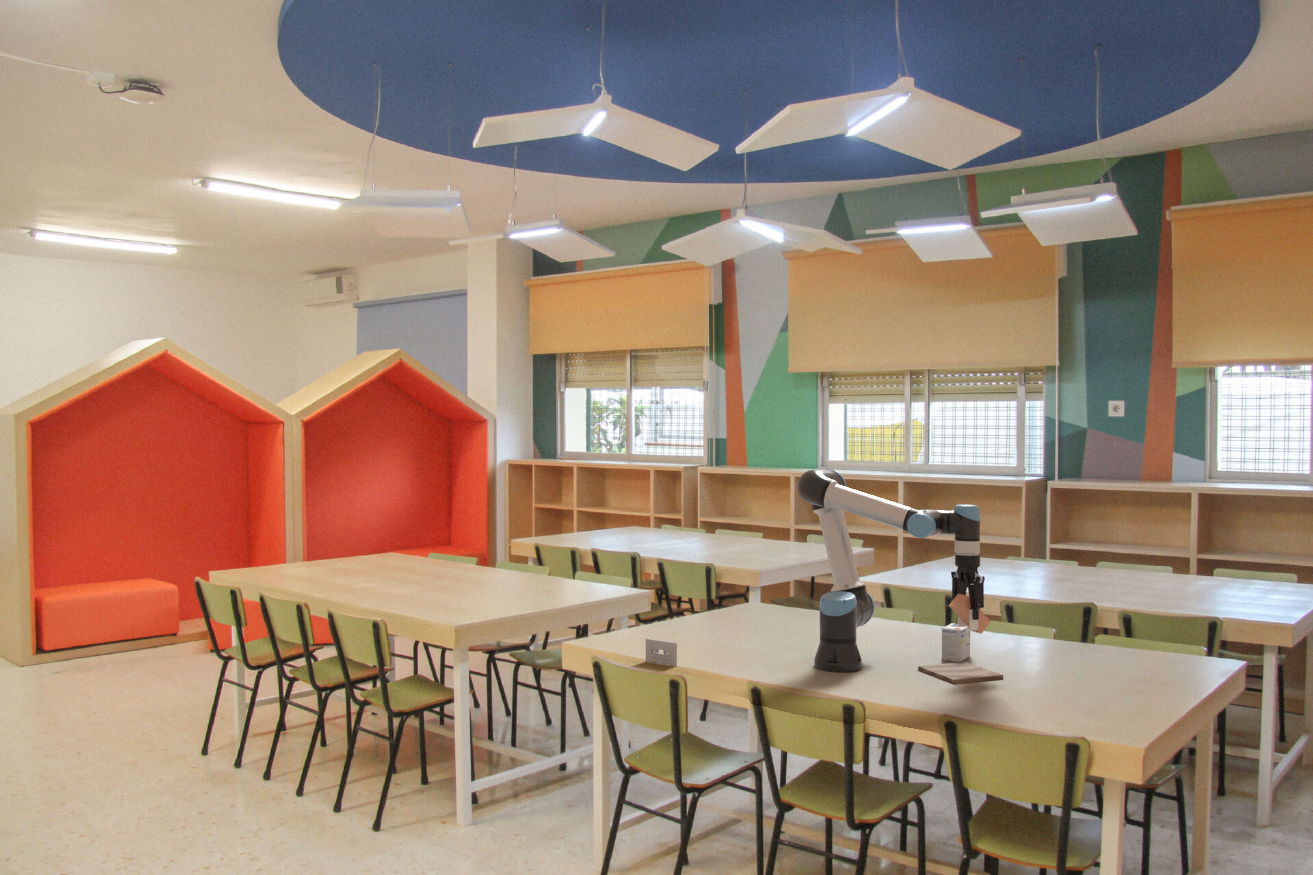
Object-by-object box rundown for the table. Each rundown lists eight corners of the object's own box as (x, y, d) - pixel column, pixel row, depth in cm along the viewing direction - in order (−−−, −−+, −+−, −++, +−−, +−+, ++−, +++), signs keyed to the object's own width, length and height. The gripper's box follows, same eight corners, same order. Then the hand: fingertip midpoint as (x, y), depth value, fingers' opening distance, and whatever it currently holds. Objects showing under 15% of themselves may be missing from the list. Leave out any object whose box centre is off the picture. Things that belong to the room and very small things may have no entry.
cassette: (644, 662, 302) (644, 639, 302) (647, 661, 303) (647, 638, 303) (674, 667, 295) (674, 643, 295) (677, 666, 296) (677, 642, 296)
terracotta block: (971, 630, 290) (948, 605, 287) (980, 618, 291) (957, 593, 289) (981, 633, 285) (958, 608, 283) (990, 621, 286) (968, 596, 284)
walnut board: (918, 669, 291) (918, 666, 291) (965, 665, 297) (965, 661, 297) (953, 683, 274) (953, 679, 274) (1003, 678, 280) (1003, 674, 280)
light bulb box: (951, 653, 314) (951, 622, 314) (971, 656, 310) (971, 624, 310) (941, 659, 305) (941, 627, 305) (961, 662, 301) (961, 629, 302)
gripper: (996, 556, 280) (997, 632, 279) (959, 550, 297) (959, 622, 296) (976, 557, 277) (976, 634, 277) (939, 551, 294) (939, 623, 294)
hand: (967, 627), depth 287 cm, fingers closed on terracotta block, 5 cm apart
